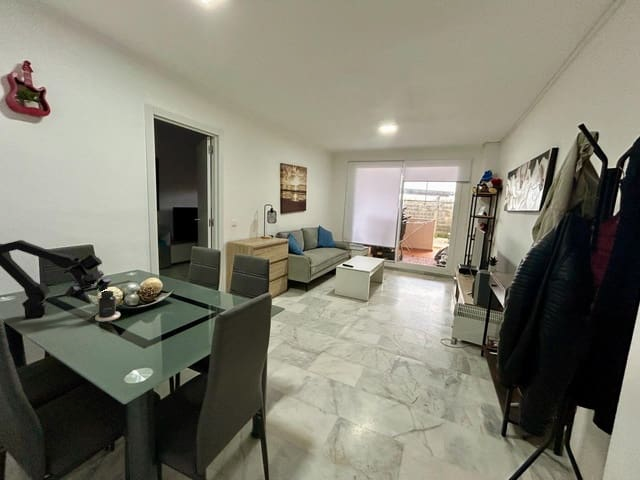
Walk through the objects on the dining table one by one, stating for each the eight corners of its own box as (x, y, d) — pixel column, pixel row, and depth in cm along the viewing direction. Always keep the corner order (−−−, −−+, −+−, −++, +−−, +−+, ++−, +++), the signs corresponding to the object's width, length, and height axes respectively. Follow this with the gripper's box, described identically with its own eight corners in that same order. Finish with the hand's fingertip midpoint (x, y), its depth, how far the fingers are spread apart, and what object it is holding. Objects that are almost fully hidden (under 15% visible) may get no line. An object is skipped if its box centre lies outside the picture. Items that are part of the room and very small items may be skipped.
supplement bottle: (106, 318, 132) (105, 295, 130) (95, 316, 133) (94, 293, 132) (119, 313, 138) (119, 291, 137) (108, 311, 140) (108, 289, 138)
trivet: (93, 322, 129) (93, 320, 129) (97, 314, 138) (97, 312, 138) (118, 319, 134) (118, 317, 134) (121, 312, 143) (121, 310, 143)
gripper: (69, 270, 125) (88, 296, 125) (108, 262, 144) (125, 285, 143) (56, 284, 128) (75, 310, 127) (96, 275, 146) (113, 297, 145)
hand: (99, 300), depth 136 cm, fingers open, 9 cm apart
